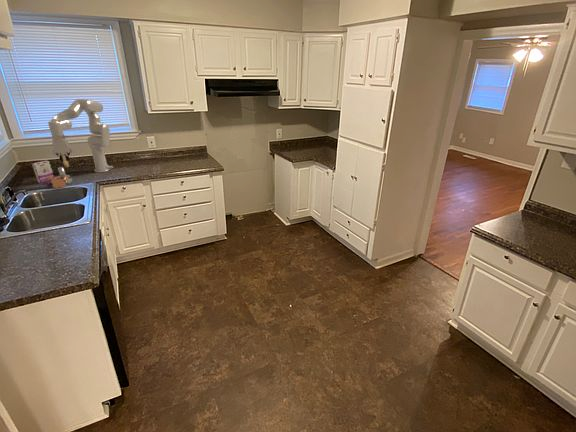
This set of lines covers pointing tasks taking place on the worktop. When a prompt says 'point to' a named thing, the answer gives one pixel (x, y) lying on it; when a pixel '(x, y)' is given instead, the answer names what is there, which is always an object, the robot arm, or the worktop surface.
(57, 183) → the rosette post
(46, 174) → the candy bar box
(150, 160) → the worktop surface
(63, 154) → the locking pin
